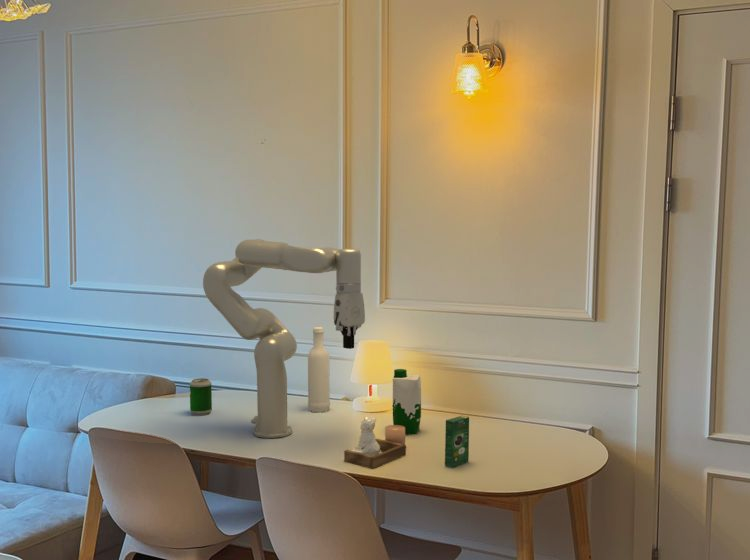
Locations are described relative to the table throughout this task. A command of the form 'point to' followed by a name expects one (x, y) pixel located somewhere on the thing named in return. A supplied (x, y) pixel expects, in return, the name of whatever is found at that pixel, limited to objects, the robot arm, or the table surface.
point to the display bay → (390, 454)
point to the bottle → (318, 374)
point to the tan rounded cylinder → (395, 434)
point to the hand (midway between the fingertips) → (348, 347)
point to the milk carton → (406, 400)
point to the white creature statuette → (368, 438)
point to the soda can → (200, 396)
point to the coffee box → (457, 441)
